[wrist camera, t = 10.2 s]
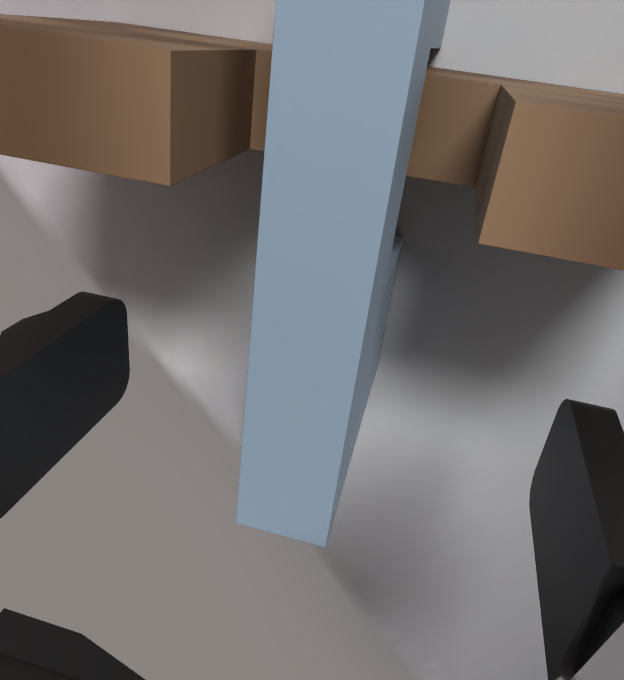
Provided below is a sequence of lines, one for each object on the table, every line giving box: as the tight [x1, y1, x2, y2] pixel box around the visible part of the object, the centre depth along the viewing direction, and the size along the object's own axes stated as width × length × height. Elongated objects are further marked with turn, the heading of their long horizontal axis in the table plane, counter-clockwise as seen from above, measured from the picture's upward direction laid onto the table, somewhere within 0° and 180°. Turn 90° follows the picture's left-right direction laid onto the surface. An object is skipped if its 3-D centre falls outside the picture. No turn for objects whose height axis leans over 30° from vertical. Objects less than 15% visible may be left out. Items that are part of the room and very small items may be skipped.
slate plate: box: [236, 0, 450, 547], centre depth 13 cm, size 14×2×8 cm, turn 173°
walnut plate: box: [0, 14, 624, 270], centre depth 12 cm, size 16×2×8 cm, turn 83°
